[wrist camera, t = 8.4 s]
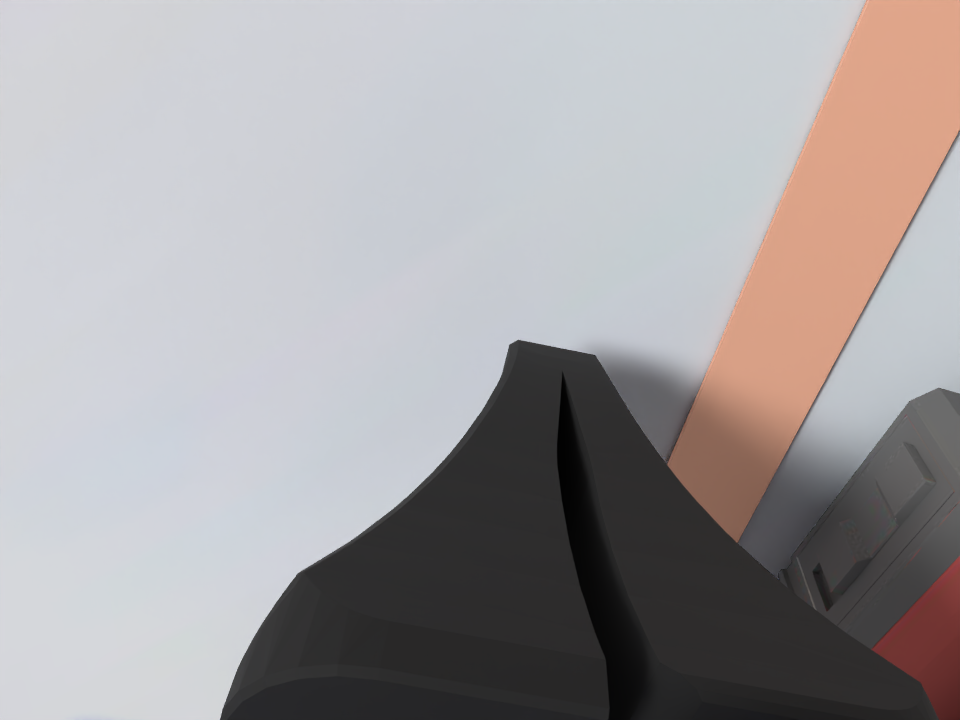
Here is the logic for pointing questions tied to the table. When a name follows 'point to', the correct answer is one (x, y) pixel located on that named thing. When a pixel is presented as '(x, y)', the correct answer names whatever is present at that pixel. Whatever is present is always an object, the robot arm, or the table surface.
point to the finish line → (824, 249)
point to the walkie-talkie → (897, 550)
